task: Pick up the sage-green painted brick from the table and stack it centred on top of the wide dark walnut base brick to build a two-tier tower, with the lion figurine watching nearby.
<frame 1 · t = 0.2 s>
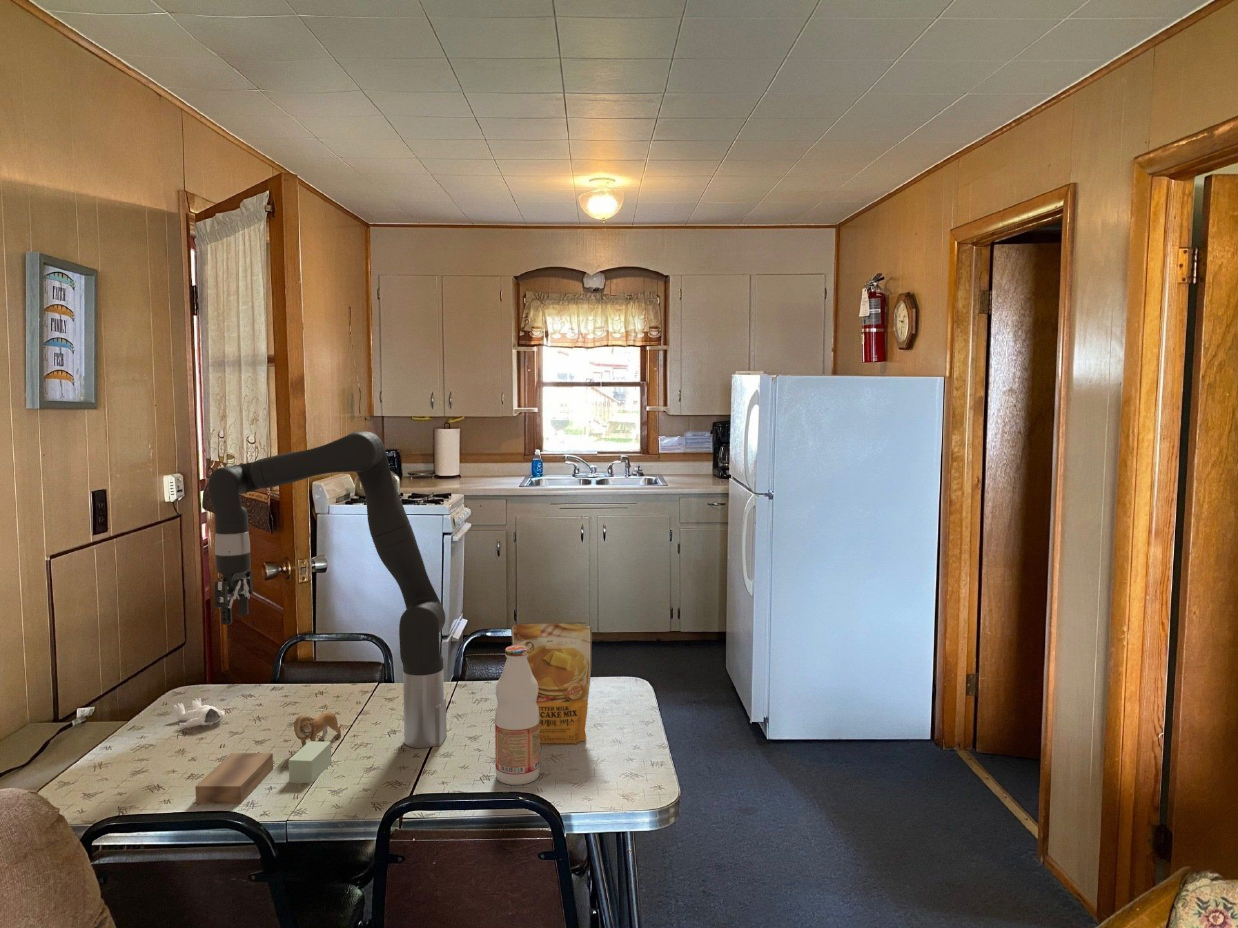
hand: (235, 619, 203), 29 cm above the table, fingers open, 8 cm apart
walnut brick: (236, 787, 180), on the table
sage brick: (310, 773, 186), on the table
fruit juice: (517, 777, 185), on the table
pancake mix bag: (551, 740, 204), on the table
toy creature: (199, 724, 215), on the table
lion figurine: (318, 746, 201), on the table
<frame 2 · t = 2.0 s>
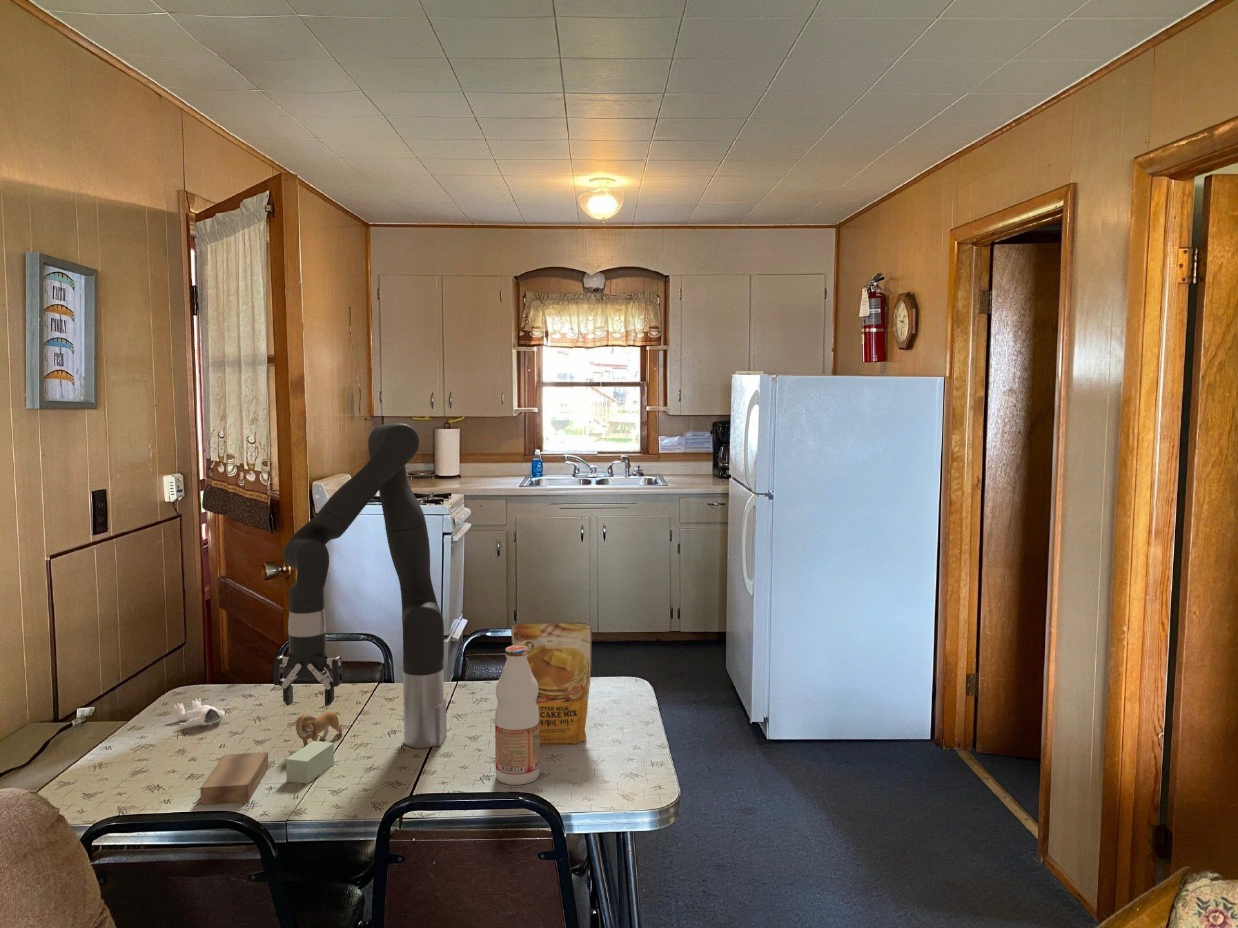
hand: (308, 704, 185), 15 cm above the table, fingers open, 8 cm apart
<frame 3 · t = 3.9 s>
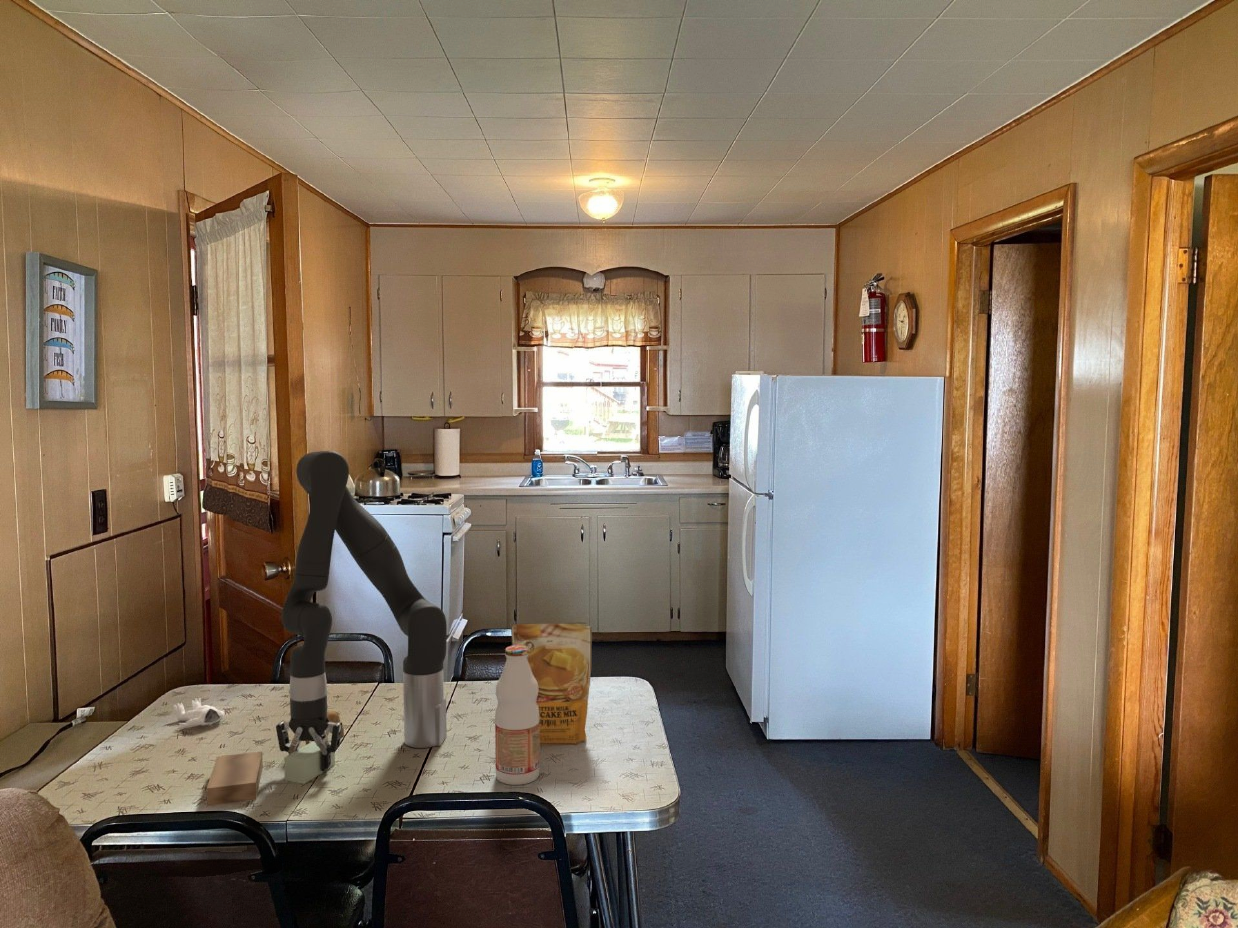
hand: (310, 769, 186), 1 cm above the table, fingers closed on sage brick, 6 cm apart
sage brick: (310, 772, 186), on the table, touching gripper
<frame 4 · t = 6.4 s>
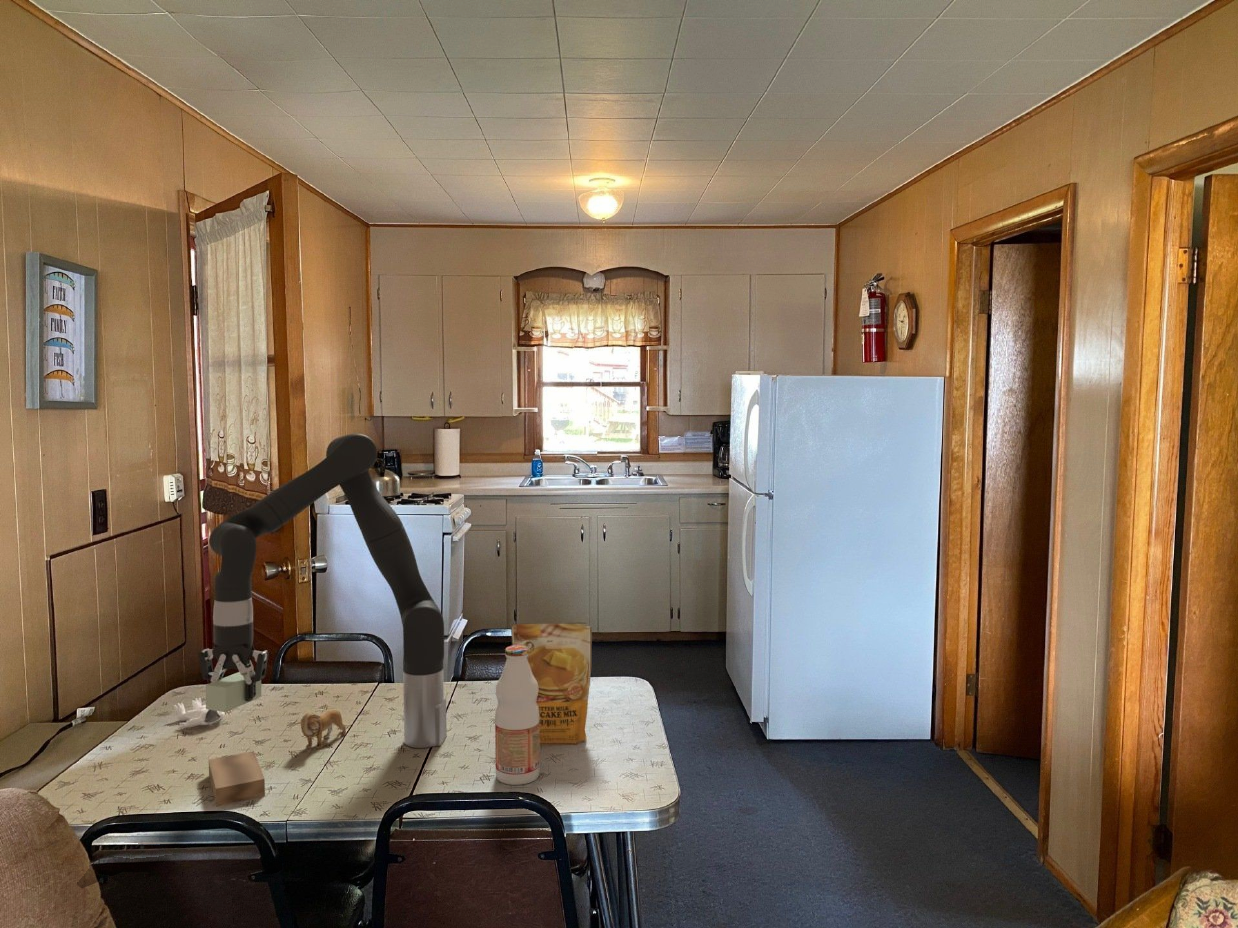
hand: (234, 699, 179), 18 cm above the table, fingers closed on sage brick, 6 cm apart
sage brick: (234, 702, 179), point 18 cm above the table, touching gripper
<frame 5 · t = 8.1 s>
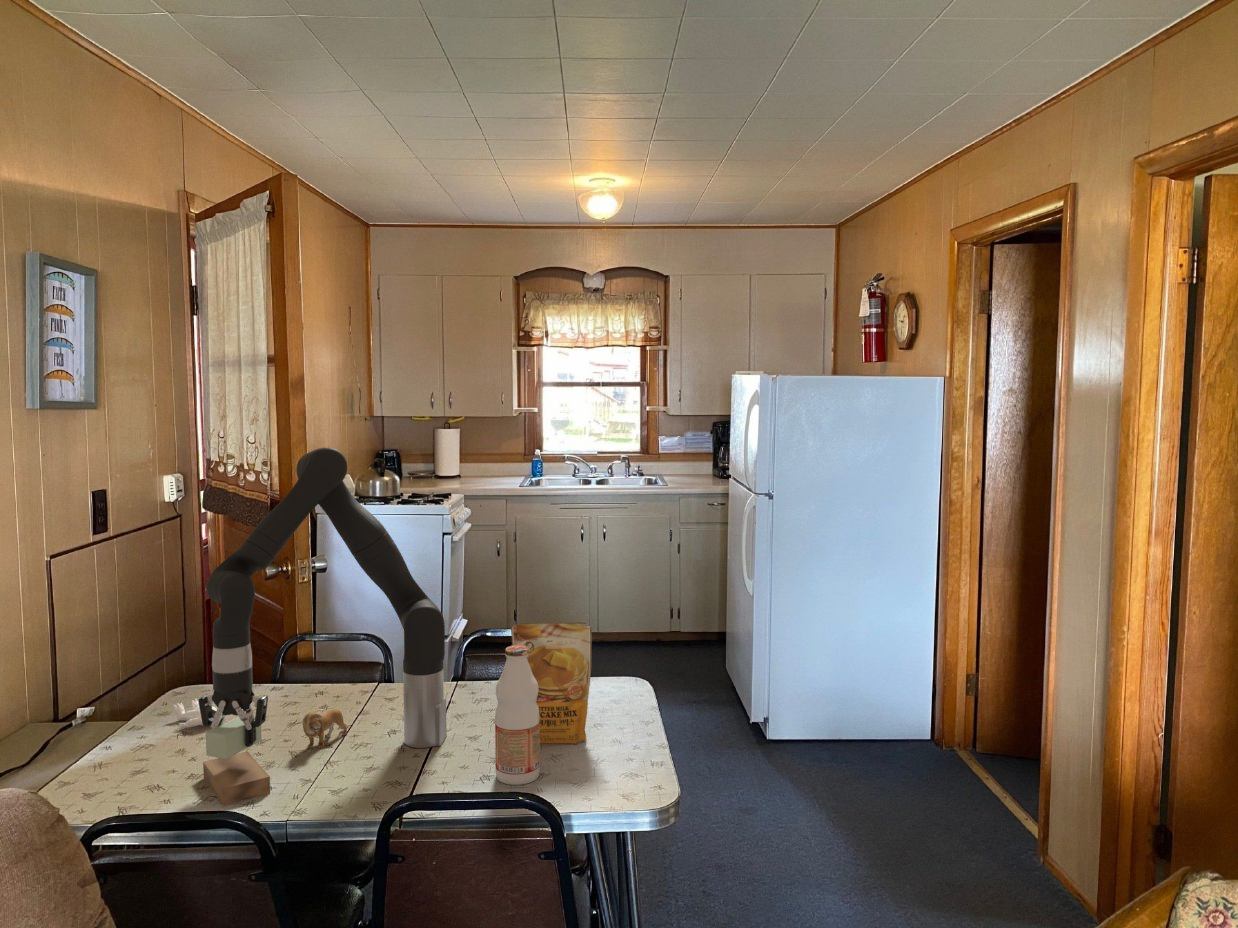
hand: (234, 744, 179), 9 cm above the table, fingers closed on sage brick, 6 cm apart
sage brick: (234, 747, 179), point 8 cm above the table, touching gripper
when the fingers open (5 cm above the table, at t = 9.3 s): sage brick drops 1 cm, resting on walnut brick.
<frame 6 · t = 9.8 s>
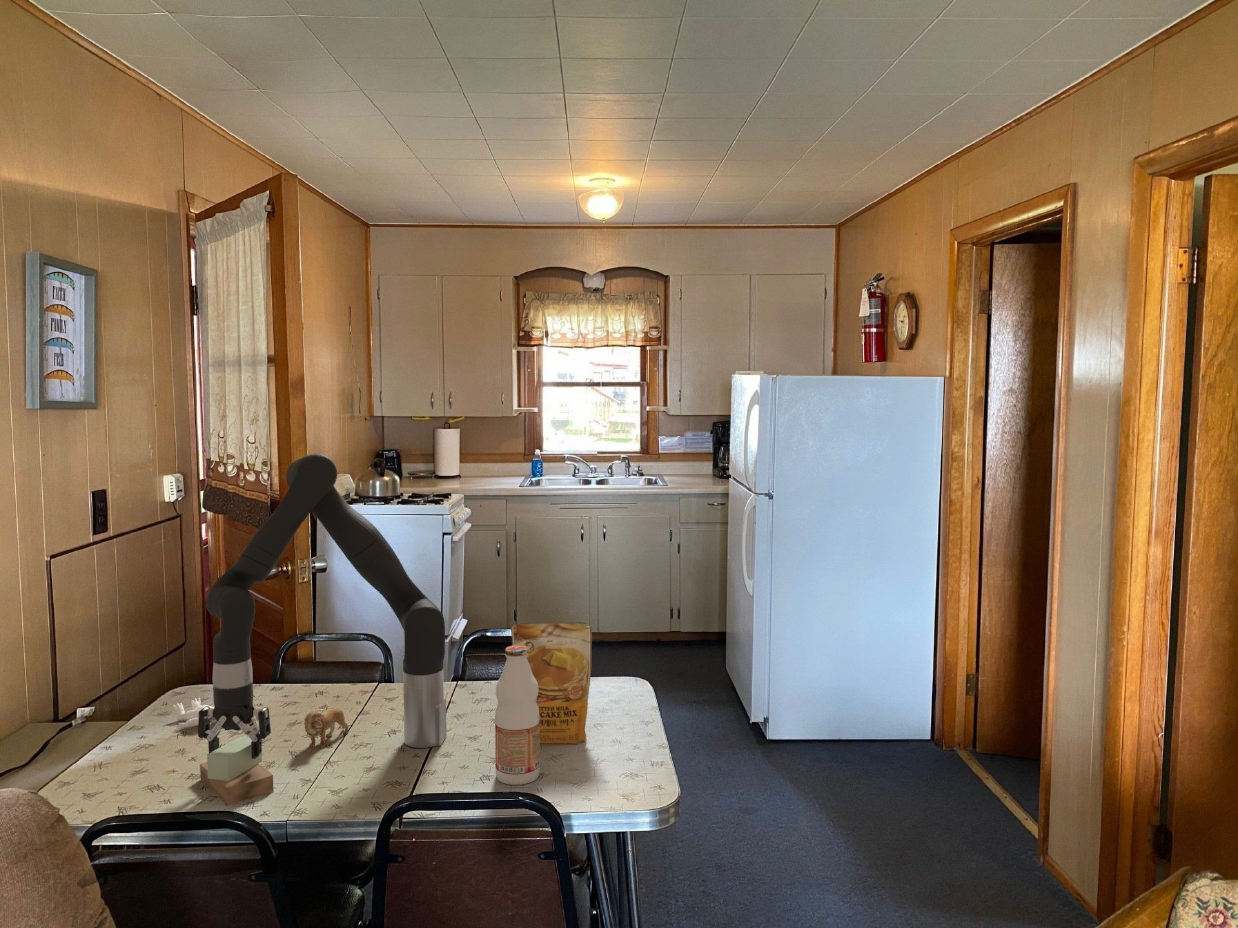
hand: (235, 756, 180), 6 cm above the table, fingers open, 8 cm apart
walnut brick: (236, 787, 180), on the table, touching sage brick
sage brick: (235, 769, 180), point 3 cm above the table, touching walnut brick
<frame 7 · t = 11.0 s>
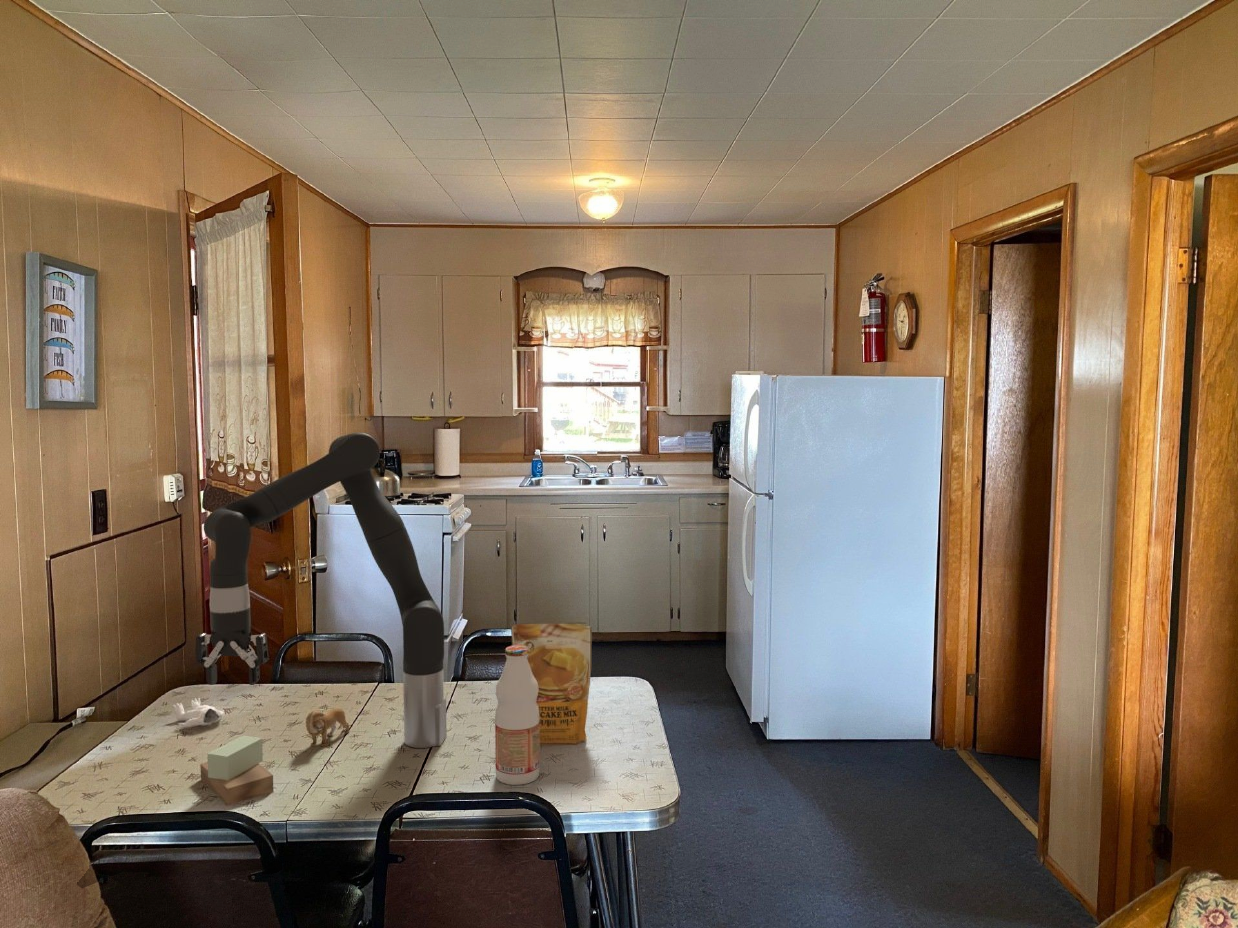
hand: (233, 683, 178), 22 cm above the table, fingers open, 8 cm apart
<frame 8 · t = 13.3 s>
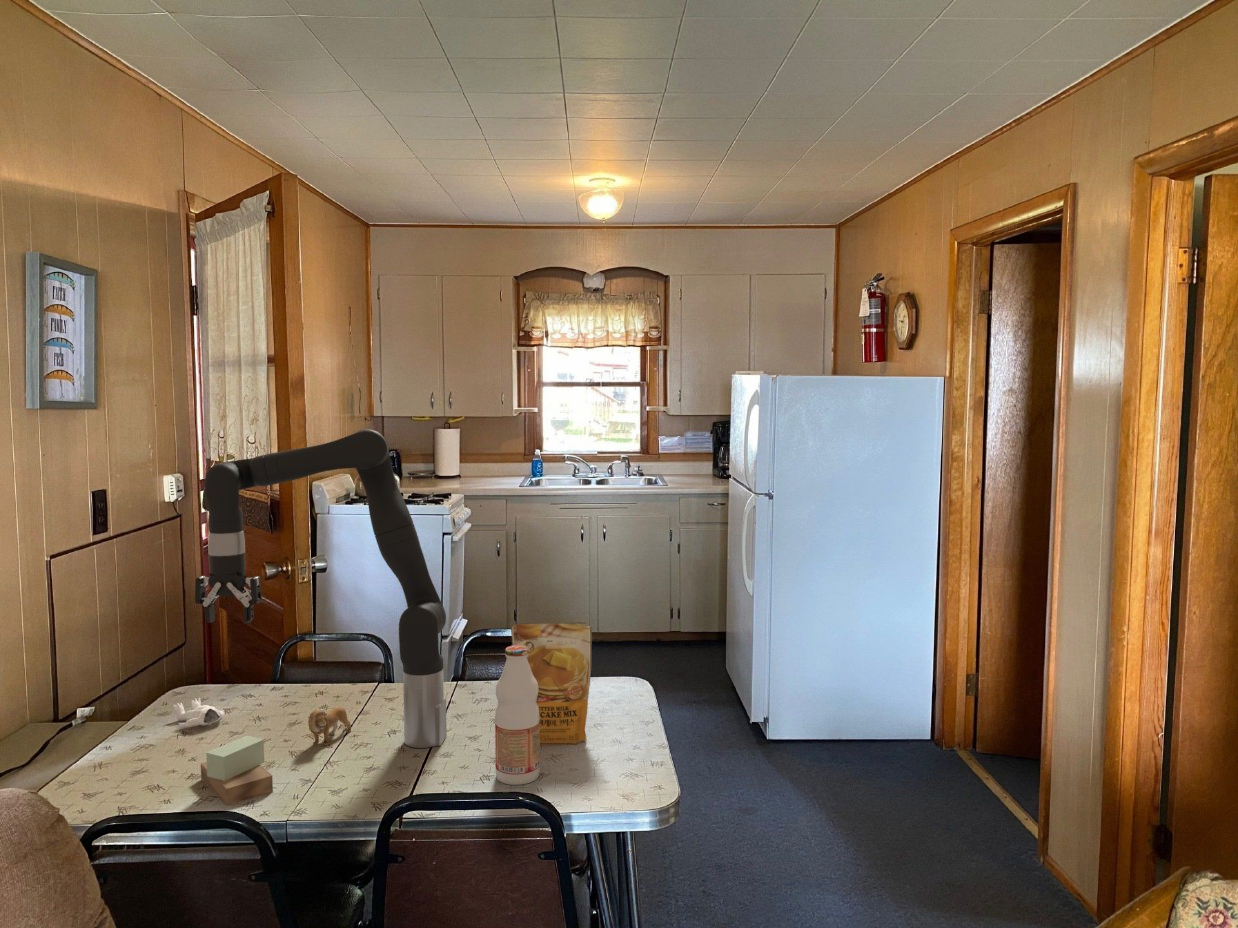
hand: (229, 622, 195), 30 cm above the table, fingers open, 8 cm apart
at the end: sage brick inside the target area on the walnut brick (0.1 cm from its centre), point 4.0 cm above the walnut brick's base; sage brick tilted 0°; the gripper is holding nothing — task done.
